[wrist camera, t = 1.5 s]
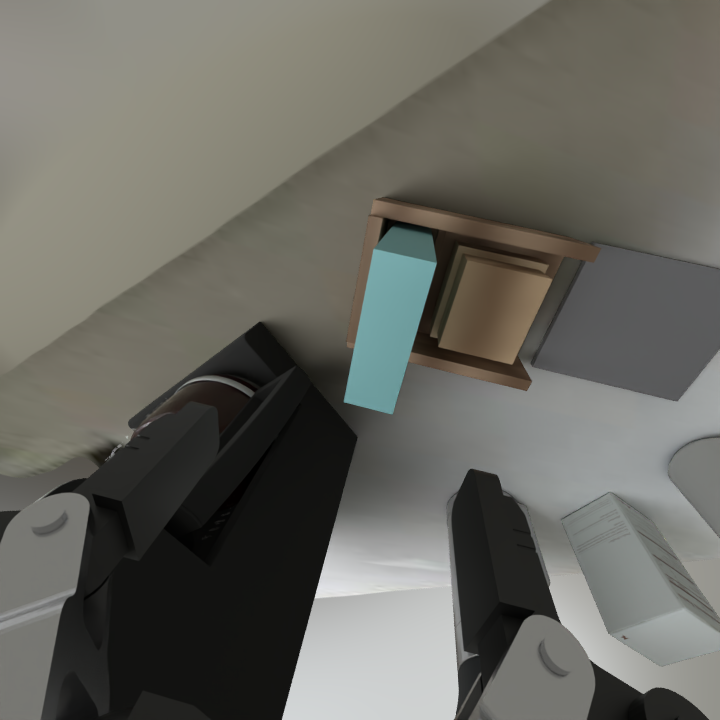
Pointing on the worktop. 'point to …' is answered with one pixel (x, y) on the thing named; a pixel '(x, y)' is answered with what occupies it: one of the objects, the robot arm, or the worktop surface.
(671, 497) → the worktop surface
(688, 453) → the can
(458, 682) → the robot arm
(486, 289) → the upper offcut
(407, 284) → the teal board
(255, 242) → the worktop surface
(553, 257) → the walnut rack
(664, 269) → the charcoal mat
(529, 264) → the lower offcut
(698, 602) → the supplement box
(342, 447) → the coffee maker
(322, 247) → the worktop surface
